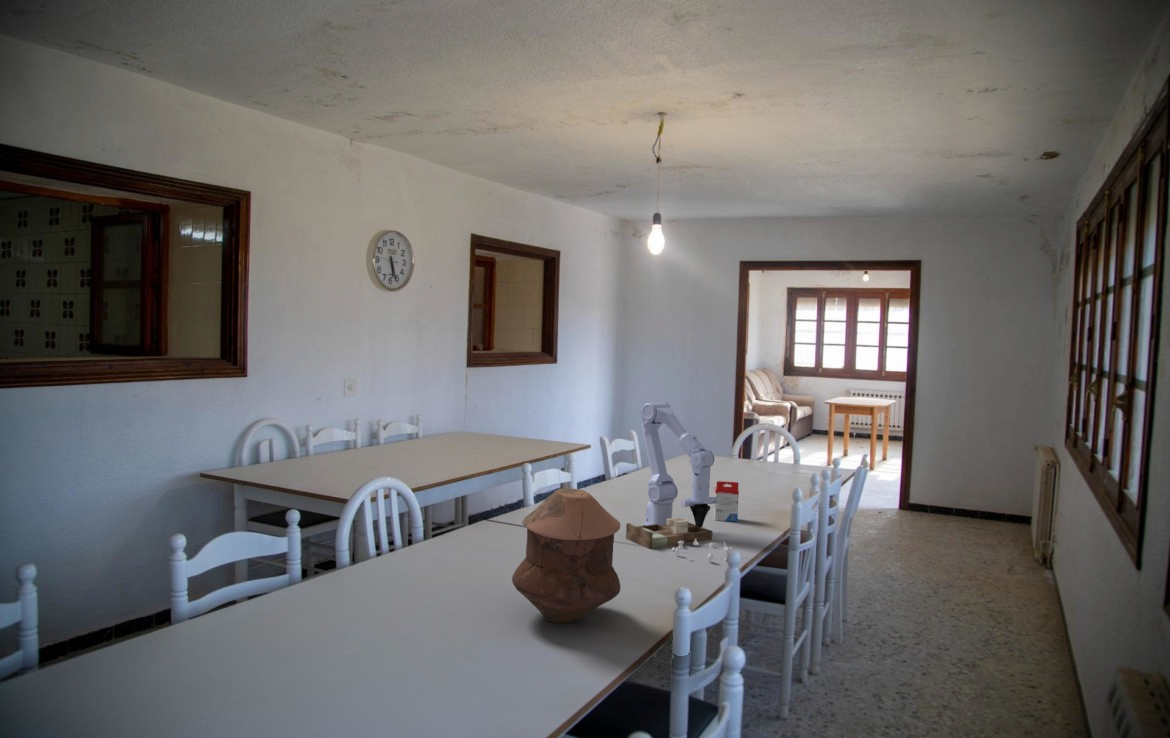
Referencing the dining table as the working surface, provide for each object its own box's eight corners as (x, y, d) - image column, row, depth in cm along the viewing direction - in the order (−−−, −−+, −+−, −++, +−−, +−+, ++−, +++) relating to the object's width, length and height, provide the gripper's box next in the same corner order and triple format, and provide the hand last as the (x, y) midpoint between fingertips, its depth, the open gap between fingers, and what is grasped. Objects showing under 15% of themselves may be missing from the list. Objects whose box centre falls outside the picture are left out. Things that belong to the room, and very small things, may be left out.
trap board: (622, 536, 254) (623, 522, 254) (683, 529, 268) (684, 515, 267) (649, 548, 241) (650, 533, 241) (712, 539, 255) (712, 525, 255)
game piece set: (734, 567, 227) (735, 554, 227) (667, 560, 231) (667, 548, 230) (735, 549, 246) (735, 537, 246) (672, 543, 250) (673, 532, 249)
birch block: (666, 530, 253) (666, 518, 252) (677, 529, 255) (678, 517, 255) (675, 534, 248) (676, 522, 248) (687, 532, 251) (688, 520, 251)
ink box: (736, 518, 287) (738, 480, 286) (737, 522, 282) (739, 482, 281) (713, 517, 287) (715, 478, 287) (714, 520, 283) (716, 481, 282)
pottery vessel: (539, 591, 198) (543, 476, 196) (633, 607, 188) (638, 487, 187) (491, 624, 174) (496, 494, 172) (596, 646, 164) (602, 508, 163)
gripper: (691, 490, 249) (689, 531, 250) (725, 487, 257) (723, 526, 257) (678, 486, 255) (676, 526, 256) (711, 483, 263) (709, 522, 263)
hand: (698, 526), depth 257 cm, fingers closed
